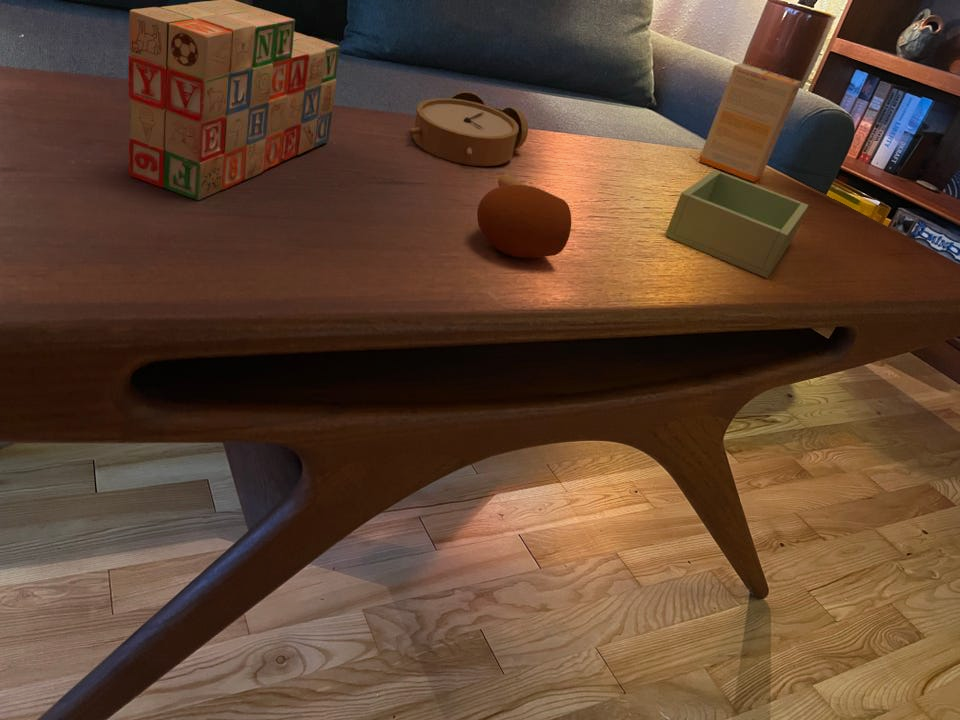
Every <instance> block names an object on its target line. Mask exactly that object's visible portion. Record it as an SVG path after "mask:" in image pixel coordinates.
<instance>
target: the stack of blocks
mask: <svg viewBox="0 0 960 720" xmlns="http://www.w3.org/2000/svg"><path fill="white" fill-rule="evenodd" d="M295 23H296V19H295V18H292V17H289V16H285V15H282V14H279V13H275V12H272V11H269V10H265V9H263V8H259V7H255V6H252V5H251V4H250V5H249V4H247V3H244V2H241V1H238V0H207V1H196V2H189V3H183V4H175V5H167V6H166V5H165V6H160V7H158V6H152V7H143V8H133V9H130V10H129V55H128V66H127V67H128V72H127V73H128V77H127V78H128V83H127V85H128V98H129V103H128V104H129V138H128V152H129V153H128V155H129V156H128V157H129V159H128V160H129V162H128V166H129V167H128V172H129V173H128V174H129V176H130V177H132V178H135V179H137V180H141V181H143V182H147V183H148V184H151V185H155V186H157V187H160V188H164V189H166V190H169V191H172V192H173V193H177V194H179V195H182V196H184V197H187V198H190V199H193V200H195V201H200V200H203V199H205V198H207V197H209V196H211V195H214V194H216V193H218V192H220V191H224V190H226V189H229V188H231V187H233V186H235V185H238V184H239V183H242V182H244V181H246V180H248V179H251V178H253V177H255V176H257V175H260V174H261V173H263V172H264V171H266V170H268V169H270V168H272V167H274V166H276V165H279V164H281V163H283V162H285V161H287V160H289V159H292V158H294V157H296V156H298V155H301V154H304V153H305V152H307V151H310V150H312V149H314V148H317V147H319V146H321V145H323V144H326V143H328V142H329V139H330V131H331V124H332V116H333V110H334V104H335V96H336V89H337V79H336V77H337V71H338V65H339V64H338V63H339V56H340V48H341V47H340V46H341V45H337V44H335V43H331V42H329V41H325V40H323V39H319V38H317V37H314V36H309V35H306V34H303V33H300V32H297V31H295V27H296V26H295V25H296V24H295Z"/></svg>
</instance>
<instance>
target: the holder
mask: <svg viewBox="0 0 960 720" xmlns="http://www.w3.org/2000/svg"><path fill="white" fill-rule="evenodd" d="M808 208H809V204H807V203H804V202H802V201H800V200H797V199H794V198H792V197H790V196H786V195H784V194H781V193H778V192H776V191H773V190H771V189H768V188H765V187H763V186H760V185H757V184H755V183H753V182H751V181H748V180H745V179H743V178H739V177H737V176H735V175H732V174H730V173H729V174H728V173H727V172H726V173H725V172H723V171H722V170H719V169H714V170H712V171H711V172H710V173H708V174H706V175H705V176H704V177H702V178H701V179H700V180H698V181H696V182H695V183H694V184H692V185H691V186H689V187H688V188H686V189H685V190H684V191H682V192H681V193H680V195H679V198H678V200H677V203H676V206H675V208H674V211H673V213H672V216H671V218H670V221H669V224H668V227H667V228H666V231H665V234H664V237H666V238H668V239H671V240H674V241H675V242H678V243H681V244H683V245H685V246H688V247H690V248H692V249H695V250H698V251H699V252H702V253H704V254H707V255H709V256H712V257H714V258H717V259H719V260H721V261H724V262H727V263H729V264H731V265H733V266H735V267H738V268H741V269H743V270H746V271H748V272H750V273H753V274H754V275H757V276H760V277H762V278H765V279H768V278H769V276H770V275H771V273H772V272H773V270H774V269H775V267H776V266H777V264H778V262H779V261H780V260H781V258H782V257H783V256H784V254H785V252H786V251H787V249H788V248H789V246H790V245H791V243H792V242H793V239H794V237H795V236H796V235H795V234H796V233H797V231H798V228H799V226H800V225H801V222H802V220H803V218H804V216H805V214H806V212H807V210H808Z"/></svg>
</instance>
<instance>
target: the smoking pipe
mask: <svg viewBox="0 0 960 720" xmlns="http://www.w3.org/2000/svg"><path fill="white" fill-rule="evenodd" d="M497 184H498V187H496V188H493V189H491V190H490V191H488V192H487V193H486V194H484V196H483V197H482V198H481V200H480V201H479V203H478V206H477V212H476V216H477V217H476V218H477V224H478V227H479V229H480V231H481V233H482V236H483V237H484V238H485V239H486V241H487V242H488V244H489V245H491V246H492V247H494V249H496V250H498V251H500V252H502V253H503V254H505V255H508V256H509V257H514V258H519V259H520V258H524V259H530V258H531V259H532V258H542V257H552V256H553V257H554V256H556V255H558V254H560V253H561V252H562V251H563V250H564V249H565V247H566V246H567V243H568V241H569V238H570V236H571V231H572V213H571V209H570V206H569V205H568V202H567V201H566V200H565V199H563V198H561V197H559V196H557V195H554V194H552V193H550V192H548V191H546V190H543V189H542V188H539V187H535V186H531V185H527V184H526V183H524V182H521V181H520V180H518V179H516V178H515V177H513V176H512V174H509V173H503V174H500V176H499V177H498V180H497Z"/></svg>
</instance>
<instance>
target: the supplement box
mask: <svg viewBox="0 0 960 720" xmlns="http://www.w3.org/2000/svg"><path fill="white" fill-rule="evenodd" d="M802 83H803V82H802V81H801V80H798V79H795V78H791V77H788V76H785V75H782V74H779V73H776V72H773V71H769V70H766V69H763V68H760V67H758V66H754V65H751V64H747V63H744V62H743V63H738V64H734V65H733V68H732V72H731V75H730V77H729V79H728V82H727V84H726V86H725V89H724V92H723V95H722V98H721V100H720V103H719V105H718V107H717V110H716V113H715V116H714V119H713V121H712V123H711V126H710V129H709V132H708V134H707V137H706V140H705V142H704V145H703V148H702V150H701V153H700V156H699V159H698V162H699V163H701V164H704V165H706V166H710V167H712V168H716V169H717V170H720V171H722V172H723V171H724V172H726V173H729V174H730V175H733V176H735V177H738V178H739V177H740V179H743V180H746V181H748V182H751V183H755V182H757V181H758V180H759V179H760V178H762V176H763V175H764V172H765V170H766V168H767V165H768V163H769V160H770V158H771V156H772V154H773V151H774V149H775V146H776V144H777V141H778V139H779V137H780V135H781V132H782V129H783V127H784V126H785V123H786V121H787V118H788V116H789V113H790V111H791V109H792V106H793V105H794V102H795V99H796V97H797V95H798V92H799V90H800V88H801V86H802Z"/></svg>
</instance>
